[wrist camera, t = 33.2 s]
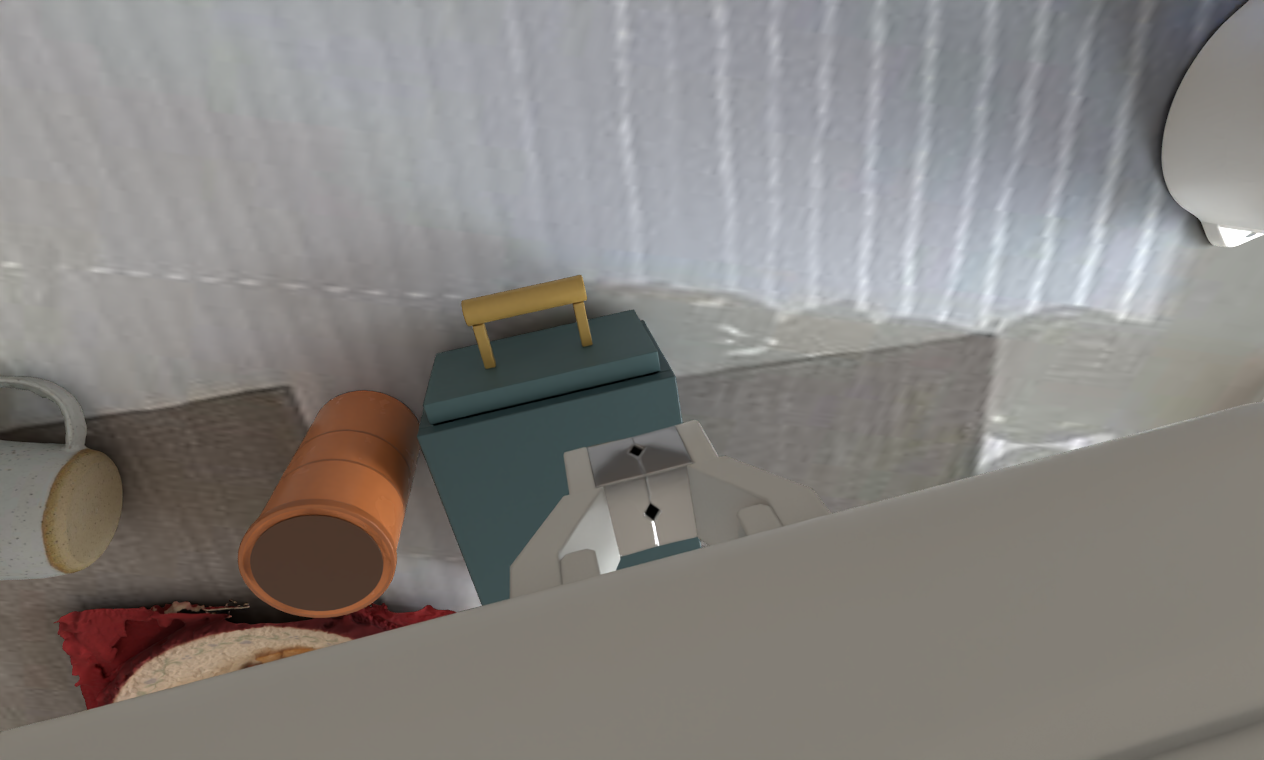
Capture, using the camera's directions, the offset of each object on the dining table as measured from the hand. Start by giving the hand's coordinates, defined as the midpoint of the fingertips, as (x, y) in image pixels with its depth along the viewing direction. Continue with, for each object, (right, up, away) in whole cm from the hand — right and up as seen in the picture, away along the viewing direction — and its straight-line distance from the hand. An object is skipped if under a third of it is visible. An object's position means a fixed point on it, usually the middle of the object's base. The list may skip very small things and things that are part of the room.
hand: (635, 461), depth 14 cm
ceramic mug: (-35, -2, +23) cm, 42 cm away
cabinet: (-4, -4, +30) cm, 30 cm away
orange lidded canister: (-17, -2, +27) cm, 32 cm away
